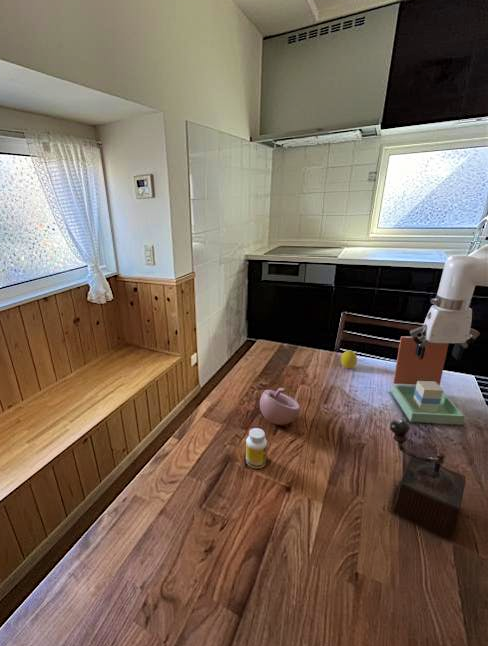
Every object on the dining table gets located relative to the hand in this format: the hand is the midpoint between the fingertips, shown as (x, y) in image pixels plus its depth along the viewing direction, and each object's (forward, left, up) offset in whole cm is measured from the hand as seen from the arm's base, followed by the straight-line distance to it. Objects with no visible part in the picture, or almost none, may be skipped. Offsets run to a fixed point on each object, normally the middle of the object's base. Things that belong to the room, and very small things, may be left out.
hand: (437, 357), depth 99 cm
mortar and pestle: (+45, +11, -18) cm, 50 cm away
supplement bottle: (+52, +29, -18) cm, 62 cm away
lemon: (+17, -23, -18) cm, 34 cm away
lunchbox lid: (0, -8, -6) cm, 9 cm away
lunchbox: (0, +1, -18) cm, 18 cm away
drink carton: (0, +1, -17) cm, 17 cm away
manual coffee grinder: (+17, +37, -18) cm, 45 cm away
